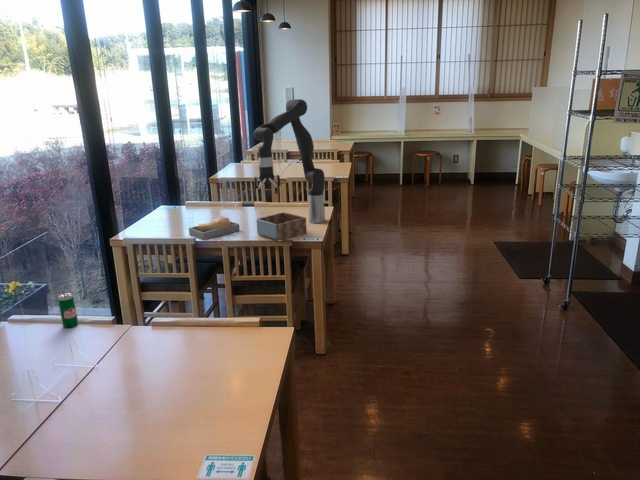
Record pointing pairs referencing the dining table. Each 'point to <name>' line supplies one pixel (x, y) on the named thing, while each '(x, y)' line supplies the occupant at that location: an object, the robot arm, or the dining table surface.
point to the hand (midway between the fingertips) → (268, 194)
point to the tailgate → (267, 229)
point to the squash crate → (213, 231)
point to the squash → (215, 224)
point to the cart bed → (287, 225)
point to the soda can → (67, 310)
